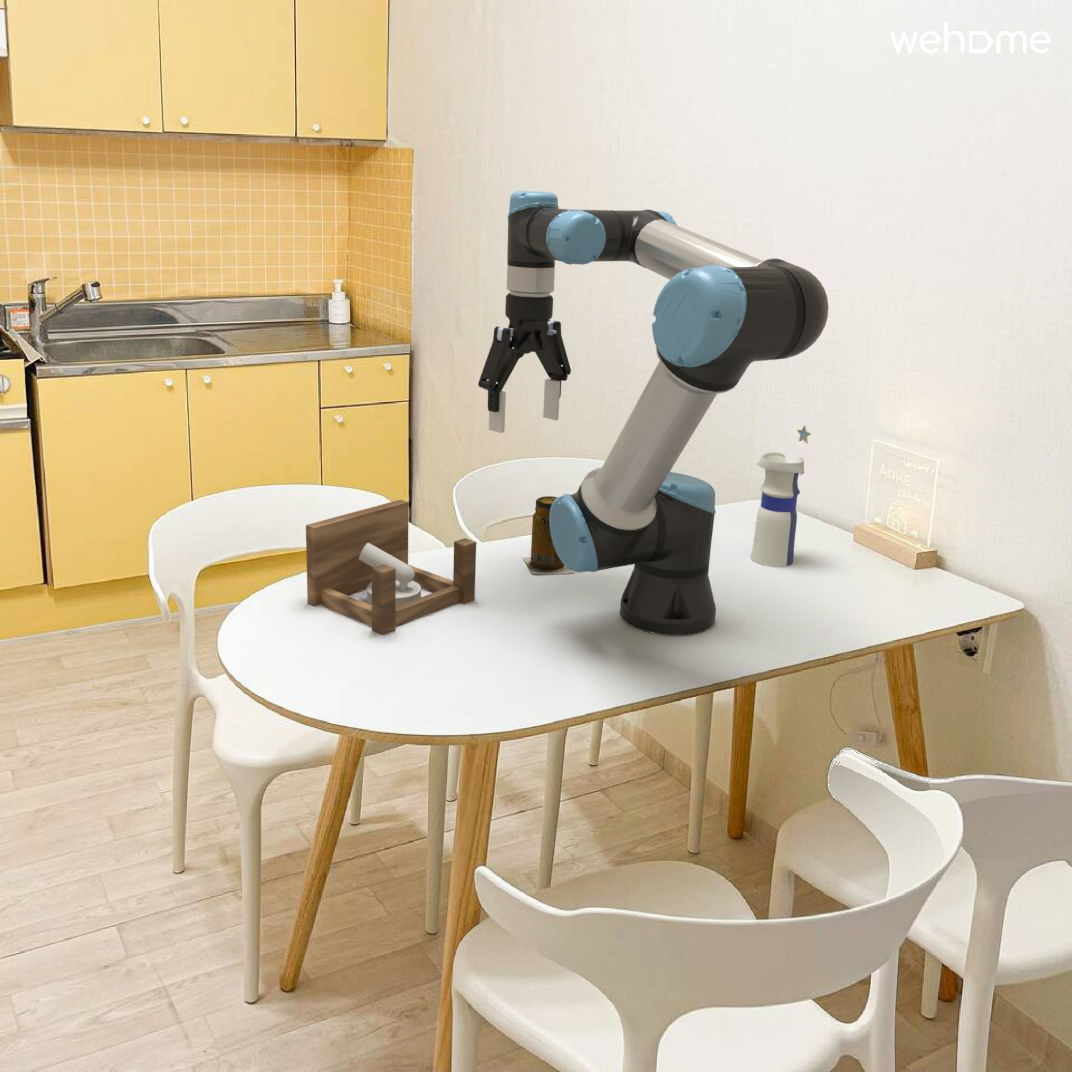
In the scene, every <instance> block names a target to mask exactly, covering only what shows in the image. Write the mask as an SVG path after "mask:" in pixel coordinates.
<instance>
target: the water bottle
mask: <svg viewBox="0 0 1072 1072" xmlns="http://www.w3.org/2000/svg"><path fill="white" fill-rule="evenodd" d="M796 431H797V433H798V434H799V439H798V442H801V441H803V442H804V443H806V444H809V443H808V437H809V436H811V435H812V433H811V432H809V431H808V429H807V426H806V424H804V425H803V427H802V429H797V430H796ZM756 466H758V467H760V468H762V469H764V475H765V478H764V481H763V483H762V485H761V486H760V489H759V490H760V491H761V500H760V506H759V508H758V510H757V513H756V522H755V529H754V536H753V541H752V542H753V543H752V546H751V547H752V548H751V555H750V560H751V561H752V560H753V561H752V562H754V561H755V562H754V563H756V564H758V565H761V564H763V565H762V566H765V565H767V566H766V567H770V566H771V567H772V568H773V567H774V568H782V567H783V568H786V567H789V565H790V566H792V565H793V564H794V553H795V540H796V533H797V531H796V530H797V524H798V523H797V520H798V513H797V502H798V496H799V495H800V494H801V490H800V489H799V486H798V484H799V483H798V480H799V475H800V476H802V475H803V474H805V459H804V458H803V457H802V456H801V457H799V459H798V460H797V462H787V461H786V455H785V454H784V453H782V452H774V451H772V452H767V453H763V454H762V456H761V458H760V459H758V462H757V463H756ZM771 567H770V568H771Z"/></svg>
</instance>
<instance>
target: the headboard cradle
mask: <svg viewBox="0 0 1072 1072" xmlns="http://www.w3.org/2000/svg"><path fill="white" fill-rule="evenodd" d="M409 508H410V507H409V501H406V500H403V499H398V500H394V501H389V502H386V503H382V504H379V505H375V506H372V507H367V508H363V509H361V510H356V511H352V512H349V513H346V514H345V513H344V514H342V515H339V516H334V517H330V518H327V519H323V520H319V521H317V522H312V523H308V524H306V525H305V543H306V545H305V546H306V547H305V549H306V550H305V551H306V583H307V584H306V586H307V587H306V589H307V590H306V596H307V597H306V598H307V604H309V605H311V606H314V607H318V606H323V607H325V608H327V609H329V610H332V611H334V612H337V613H339V614H341V615H343V616H347V617H349V618H351V619H354V620H356V621H358V622H360V623H362V624H364V625H368V626H370V627H371V631H373V632H375V633H377V634H379V635H382V636H384V635H387V634H390V633H392V632H395V631H396V628H397V627H398V626H401V625H402V626H403V625H404V624H407V623H410V622H412V621H414V620H417V619H420V618H422V617H425V616H427V615H430V614H433V613H436V612H439V611H441V610H443V609H446V608H449V607H452V606H455V605H456V604H462V605H465V604H468V603H471V602H473V601H475V599H476V568H477V567H476V565H477V564H476V563H477V561H476V559H477V541H476V540H472V539H469V538H465V537H463V538H461V539H459V540H455V541H453V571H452V572H453V573H452V575H453V576H452V577H453V579H449V578H446V577H444V576H441V575H438V574H435V573H432V572H430V571H427V570H424V569H422V568H419V567H416V566H413V565H411V564H409ZM367 543H370V544H372V545H373V546H375V547H377V548H379V549H381V550H382V551H384V552H386V553H388V554H390V555H391V556H393V557H395V558H397V559H398V560H400V561H402V562H404V563H406V564H407V565H409V566H410V567H412V569H413V570H414V573H415V576H414V578H413V580H412V581H414V582H416V583H418V584H419V585H420V586H421V589H423V590H425V591H429V592H431V593H429V594H426V595H424V596H421V597H420V598H417V599H415V600H412V601H409V602H406V603H404V604H401V605H398V606H396V568H393V567H390V566H388V565H385V564H383V565H380V566H377V567H374V568H373V567H372V566H370V565H368V564H366V563H364V562H363V561H361V560H359V556H360V554H361V552H362V550H363V548H364V547H365V545H366V544H367ZM370 583H372V605H369V604H367V602H364V601H361V600H359V599H356V598H354V597H352V595H354V594H357V593H360V592H362V591H365V590H366V591H367V586H368V585H369V584H370ZM350 595H351V596H350Z"/></svg>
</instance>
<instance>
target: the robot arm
mask: <svg viewBox="0 0 1072 1072" xmlns="http://www.w3.org/2000/svg"><path fill="white" fill-rule="evenodd" d="M508 209H509V210H508V214H507V251H506V253H507V257H506V259H507V261H506V263H507V264H506V265H507V268H506V270H507V271H506V290H507V291H509V293H507V294H506V296H505V306H504V307H505V312H504V313H505V315H504V316H506V318H507V319H508V321H509V324H508V327H503V326H498V325H497V326H495V327H494V329H493V338H492V342H491V346H490V348H489V352H488V355H487V357H486V360H485V363H484V366H483V369H482V372H481V374H480V377H479V380H478V383H477V384H478V387H479V388H481V389H483V390H487V411H488V431H493V432H496V433H500V434H502V433H505V426H506V421H505V420H506V396H507V395H506V393H507V391H503V389H504V387H505V386H506V383H507V381H508V380H509V378H510V376H511V374H512V372H513V371H514V368H515V367H516V365H517V363H518V362H519V359H520V358H523V357H524V356H525V354H526V355H527V354H530V353H535V354H536V356H537V358H538V360H539V362H540V363H541V365H542V367H543V370H544V371H545V372H546V375H547V376H548V378H545V379H544V390H543V391H544V392H543V408H542V409H543V410H542V411H543V412H542V417H543V418H545V419H547V420H548V419H549V420H551V421H552V420H554V421H558V420H559V417H560V415H559V414H560V413H559V411H560V398H561V396H562V381H564V382H566V381H567V380H568V377H569V376H570V375H571V373H572V369H571V365H570V362H569V358H568V357H569V356H568V354H567V351H566V346H565V343H564V340H563V337H562V336H563V335H562V323H561V321H559V320H552V319H553V315H554V312H553V310H554V297H553V295H551V294H552V293H554V291H555V275H556V266H555V265H556V262H557V261H558V262H561V263H564V264H566V265H570V266H571V265H587V264H590V263H592V262H596V263H597V262H630V263H634V264H636V265H638V266H640V267H642V268H644V269H647V270H649V271H651V272H653V273H655V274H658V275H659V276H662V277H664V278H665V279H667V280H668V281H667V282H666V284H665V285H664V286H663V288H662V289H661V290H660V293H659V294H658V296H657V298H656V301H655V304H654V308H653V313H652V316H653V317H654V318H655V320H654V322H652V324H651V329H652V336H653V342H654V345H655V350H656V351H655V352H656V357H657V358H658V361H659V362H658V363H657V365H656V367H655V369H654V371H653V372H652V373H651V376H650V378H649V380H648V382H647V383H646V385H645V386H644V389H643V390H642V393H641V394H640V396H639V398H638V400H637V402H636V403H635V406H634V408H633V409H632V411H631V413H630V415H629V417H628V419H627V420H626V422H625V424H624V425H623V428H622V430H621V431H620V433H619V435H618V437H617V439H616V441H615V443H614V444H613V446H612V447H611V450H610V452H609V454H608V456H607V457H606V460H605V462H604V463H603V465H602V466H601V467H598V468H595V469H593V470H591V471H590V472H588V473H587V474H586V475H585V476H584V478H583V480H582V481H581V484H580V485H579V487H578V489H577V491H576V492H575V493H572V494H569V493H564V494H562V495H560V496H556V497H557V498H556V499H555V500H554V501H553V503H552V506H551V509H550V515H549V525H550V532H551V538H552V542H553V545H554V548H555V550H556V553H557V555H558V556H559V558H560V560H561V561H562V563H563V564H564V565H565V566H566V567H567V568H568V569H570V570H572V571H573V572H574V573H586V572H591V573H595V572H597V571H604V570H608V569H613V568H621V567H626V566H631V565H634V566H633V570H632V572H631V574H630V577H629V579H628V581H627V583H626V586H625V589H624V591H623V593H622V596H621V598H620V602H619V603H620V604H619V616H620V618H621V619H622V620H623V621H624V622H625V623H627V625H629V626H631V627H634V628H635V629H639V630H640V631H644V632H648V633H652V634H658V635H666V636H687V635H688V636H689V635H696V634H700V633H703V632H706V631H708V630H709V629H711V628H712V627H713V626H714V625H715V622H716V614H717V606H716V603H715V598H714V594H713V589H712V585H711V581H710V577H709V570H710V569H709V568H710V559H711V550H712V549H711V548H712V540H713V531H714V522H715V515H716V512H717V511H716V492H715V491H716V490H715V489H714V487H713V486H712V485H711V484H710V483H709V482H707V481H706V480H703V479H700V478H698V477H695V476H692V475H688V474H683V473H680V472H679V473H678V472H672V469H673V467H674V465H675V464H676V462H677V461H678V459H679V457H680V456H681V454H682V452H683V451H684V449H685V448H686V446H687V444H688V442H689V441H690V439H691V438H692V436H693V434H694V433H695V431H696V429H697V428H698V426H699V425H700V423H701V421H702V420H703V418H704V416H705V415H706V413H707V411H708V410H709V408H710V406H711V405H712V404H713V401H714V400H715V399H716V397H717V395H718V394H724V393H727V392H730V391H731V390H733V389H734V388H735V387H736V386H737V385H738V383H739V382H740V381H741V379H742V377H743V376H744V375H745V373H746V371H747V370H748V368H749V366H750V365H751V364H752V363H754V362H763V361H774V360H775V361H776V360H784V359H785V360H786V359H789V358H792V357H796V356H798V355H799V354H802V353H803V352H805V351H806V350H808V349H809V348H810V347H812V346H813V345H814V344H815V343H816V342H817V340H819V338H820V336H821V335H822V332H823V331H824V329H825V327H826V324H827V321H828V316H829V299H828V295H827V292H826V289H825V288H824V286H823V284H822V282H821V281H820V280H819V279H818V277H816V275H814V274H813V273H812V272H811V271H809V270H807V269H805V268H803V267H800V266H798V265H795V264H793V263H790V262H788V261H786V260H783V259H779V258H775V257H772V258H767V259H763V260H762V259H759V258H757V257H754V256H752V255H749V254H748V253H745V252H742V251H739V250H738V249H735V248H733V247H731V246H728V245H725V244H723V243H721V242H718V241H715V240H713V239H711V238H708V237H705V236H703V235H701V234H698V233H696V232H695V231H694V232H693V231H691V230H688V229H686V228H683V227H681V226H679V225H678V224H677V222H676V221H675V220H674V219H673V216H672V215H671V214H670V213H668V212H665V211H659V210H653V209H643V210H611V209H610V210H608V209H569V208H568V209H567V208H566V209H565V208H559V199H558V196H557V195H556V193H554V192H549V191H537V190H536V191H534V190H531V191H530V190H517V191H514V192H513V193H511V195H510V198H509V207H508Z"/></svg>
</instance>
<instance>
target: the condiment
mask: <svg viewBox="0 0 1072 1072" xmlns="http://www.w3.org/2000/svg"><path fill="white" fill-rule="evenodd" d="M557 497H558V496H553V495H552V496H551V495H549V496H548V495H547V496H545V495H543V496H541V497H538V498H537V499H536V500H535V507H534V509H535V510H534V511H535V512H534V513H533V515H532V522H531V523H532V526H531V543H530V544H531V547H530V557H529V556H526V557H522V559H523V561H524V563H525V564H526V566H527V567H528V568H529V571H530V572H531V574H532V575H567V574H574V571H572V570H570V569H568V568H567V567H566V566H565V565H564V564H563V563H562V561H561V560H560V558H559V556H558V555H557V553H556V550H555V548H554V545H553V542H552V538H551V532H550V525H549V515H550V509H551V506H552V503H553V501H554V500H555V499H556V498H557Z"/></svg>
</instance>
